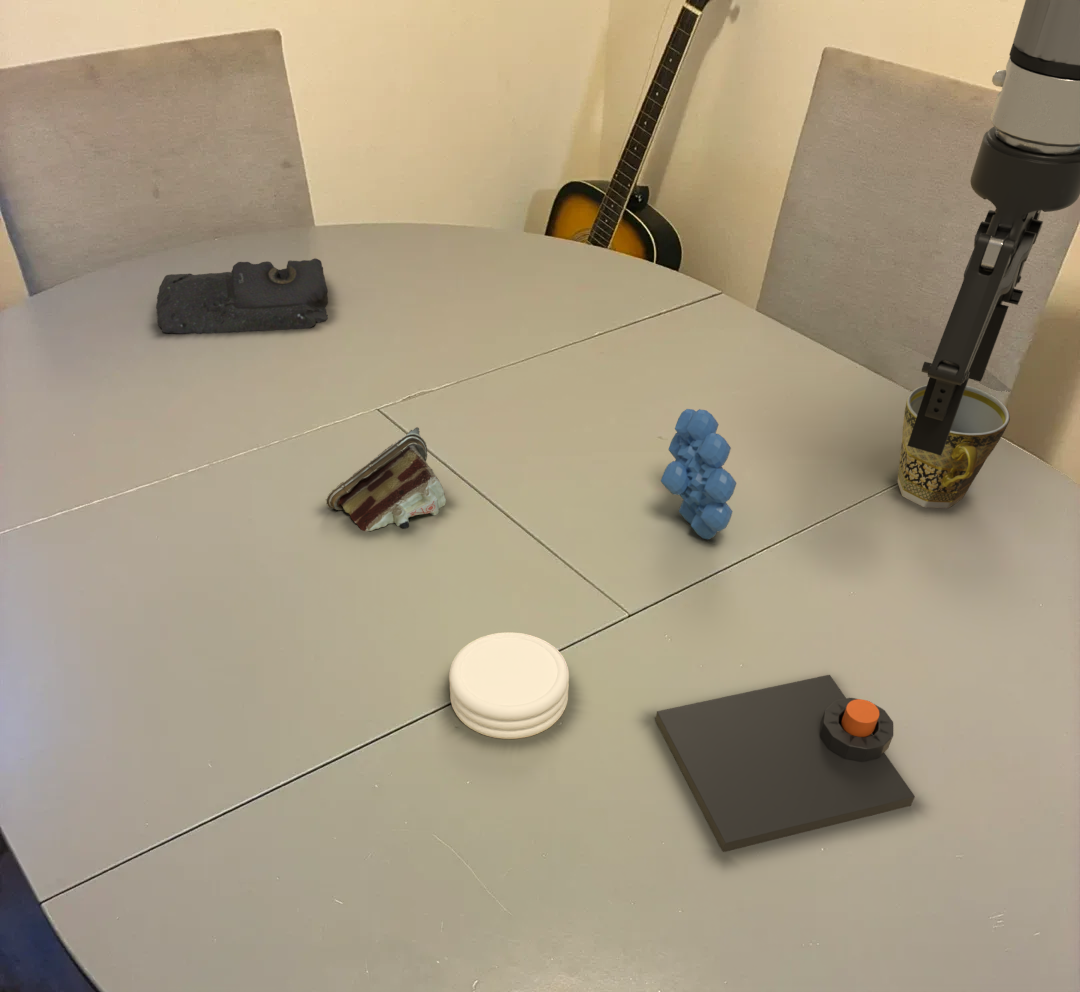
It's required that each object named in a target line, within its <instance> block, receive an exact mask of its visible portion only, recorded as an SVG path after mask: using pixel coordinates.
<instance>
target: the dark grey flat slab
mask: <svg viewBox="0 0 1080 992" xmlns="http://www.w3.org/2000/svg"><path fill="white" fill-rule="evenodd" d="M856 699H857V698H856V697H846V695H845V694H844V692H842V690H841V689H840V687H839V685H838V684H837V683H836V682H835V680H834V678H833V676H831V674H827V675H821V676H817V677H812V678H807V679H804V680H798V681H793V682H789V683H783V684H778V685H774V686H769V687H764V688H760V689H755V690H750V691H747V692H741V693H736V694H732V695H727V696H722V697H718V698H713V699H708V700H703V701H699V702H694V703H690V704H689V703H688V704H685V705H681V706H675V707H670V708H666V709H662V710H656V714H655V723H656V725H657V727H658V729H659V731H660V733H661V735H662V736H663V738H664V740H665V743H666V745H667V746H668V748H669V750H670V752H671V754H672V756H673V758H674V760H675V761H676V764H677V766H678V767H679V770H680V771H681V773H682V775H683V777H684V779H685V781H686V783H687V786H688V787H689V789H690V791H691V793H692V795H693V797H694V799H695V801H696V803H697V804H698V807H699V808H700V811H701V812H702V814H703V816H704V818H705V820H706V822H707V824H708V826H709V828H710V830H711V832H712V834H713V835H714V837H715V839H716V841H717V844H718V846H719V847H720V849H721V851H722V852H723V853H726V852H731V851H734V850H738V849H742V848H746V847H751V846H754V845H758V844H763V843H766V842H770V841H774V840H775V841H776V840H778V839H782V838H787V837H791V836H794V835H799V834H803V833H807V832H810V831H815V830H819V829H823V828H827V827H831V826H834V825H835V826H836V825H840V824H844V823H846V822H851V821H855V820H859V819H863V818H867V817H871V816H875V815H876V816H877V815H879V814H883V813H887V812H891V811H897V810H900V809H904V808H907V807H911V806H912V805H913V802H914V800H915V798H916V797H915V796H916V795H915V794H914V793H913V791H912V790H911V789H910V787H909V785H908V784H907V783H906V781H905V780H904V778H903V777H902V776H901V774H900V773H899V771H898V770H897V769H896V768H895V766H894V764H893V763H892V761H891V760H890V759H889V757H888V755H887V754H886V753H885V752H887V750H889V747H890V745H891V743H892V741H893V738H894V721H893V720H892V718H891V717H890V716H889V714H888V713H887V711H886V710H885V709H884V708H882V707H880V706H878V705H877V704H875V703H873V702H872V701H869V700H868V701H869V702H871V703H873V704H874V705H875V706H876V707H877V708H878V710H879V718H878V721H877V723H876V726H875V729H874V731H873V733H872V734H870V735H869V736H866V737H856V736H853V735H851V734H849V733H847V732H846V731H845V730H844V728H843V727H842V718H843V715H844V712H845V709H846V707H847V704H848V703H849V702H851V701H853V700H856Z"/></svg>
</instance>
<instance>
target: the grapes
mask: <svg viewBox="0 0 1080 992" xmlns="http://www.w3.org/2000/svg"><path fill="white" fill-rule="evenodd" d="M718 427H719V422H718V421H717V420H716V418H715V417H714V415H713V414H712V413H711V412H709V411H708V410H707V409H701V408H699V409H697V410H695V409H693V408H692V409H691V408H686V409H684V410H683V411H682V412H681V413H680V415H679V417H678V418H677V420H676V424H675V427H674V430H675V434H674V435H673V437H672V439H671V441H670V444H669V447H668V451H669V452H670V454H671V455H672V457H673V458H674V460H672V461H671V462H669V463H668V464H667V465H666V467H665V469H664V471H663V473H662V476H661V479H660V482H661V484H662V485H663V486H664V487H665V489H666V490H667V491H668V492H669V493H671V494H672V495H675V496H680V498H681V499H682V501H681V503H680V507H679V510H678V513H679V514H680V515H681V516H682V518H683V519H684V521H686V522H687V523H689V525H690V527H691V528H692V530H694V532H695V533H696V535H698V536H699V538H702V539H705V540H711V539H713V538H714V537H716V535H717V533H718V532H721V531H723V530H725V529H726V528H728V525H729V523H730V521H731V518H732V515H733V509H732V508H731V507H730V505H729V504H728V503H727V502H728V501H730V500H731V499H732V496H733V494H734V492H735V489H736V486H737V481H736V480H735V478H734V477H733V476H732V474H731V473H730V472H729V471H728V470H726V469H725V468H724V467H723V466H724V465H725V464H726V463H727V460H728V458H729V456H730V452H731V450H732V447H731V446H730V444H729V442H727V440H726V439H725V438H724V437H723V436H722V435H721V434H720V433H717V431H718Z"/></svg>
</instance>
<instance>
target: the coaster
mask: <svg viewBox="0 0 1080 992" xmlns="http://www.w3.org/2000/svg"><path fill="white" fill-rule="evenodd" d="M569 670H570V669H569V667H568V664H567V661H566V659H565V657H564V656H563V654H562V653H561V652H560V651H559V650H558V648H557V647H555V646H554V645H553V644H551V643H550V642H548V641H546V640H544V639H543V638H540V637H538V636H535V635H530V634H527V633H523V632H512V631H511V632H510V631H509V632H508V631H506V632H504V631H503V632H495V633H491V634H487V635H483V636H480V637H478V638H476V639H474V640H472V641H470V642H469V643H467V644H466V645H464V646H463V647H462V648H461V649H460V650H458V652H457V653H456V655H454V658H453V660H452V662H451V665H450V668H449V673H448V681H449V694H450V696H449V698H450V699H449V700H450V704H451V706H452V709H453V711H454V713H455V715H456V716H457V718H458V719H459V720H460V721H461V722H462V723H463V725H465V726H466V727H468V728H469V729H470V730H471V731H474V732H476V733H478V734H481V735H483V736H487V737H490V738H495V739H503V740H518V739H524V738H528V737H534V736H535V735H537V734H538V735H539V734H541V733H543V732H544V731H547V730H548V729H549V728H551V727H552V726H553V725H555V724H556V723H557V721H559V720H560V718H561V717H562V716H563V714H564V712H565V709H566V707H567V705H568V700H569V687H570V686H569V683H570V671H569Z"/></svg>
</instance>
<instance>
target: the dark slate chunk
mask: <svg viewBox="0 0 1080 992" xmlns="http://www.w3.org/2000/svg"><path fill="white" fill-rule="evenodd" d="M324 273H325V272H324V267H323V263H322V261H321V260H320V259H318V258H316V257H315V258H312V259H310V260H306V259H305V260H304V259H303V260H287V263H286V268H281V269H278V268H277V267H275V266H274V264H273V263H272V262H271V261H268V260H267V261H261V262H260V263H252V262H250V261H237V262H236V263H235V264H234V265H232V269H231V271H224V272H209V273H208V272H207V273H199V274H192V273H177V274H173V273H172V274H166V275H165V276H164V278H163V279H162V281H161V284H160V285H159V287H158V292H157V296H156V299H157V300H156V306H155V310H156V316H157V318H156V319H157V321H156V322H157V324H158V326H159V328H161V331H162V333H166V334H178V335H179V334H180V335H192V334H197V335H201V334H207V335H209V334H230V333H231V334H233V333H237V334H239V333H246V332H247V333H248V332H249V333H253V332H274V331H290V330H306V329H307V330H308V329H310V328H312V327H314V326H316V324H319V323H325V322H326V321H327V320H328V319H329V317H328V313H327V309H326V307H327V306H328V304H329V298H328V297H329V296H328V286H327V282H326V277H325V274H324Z"/></svg>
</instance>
